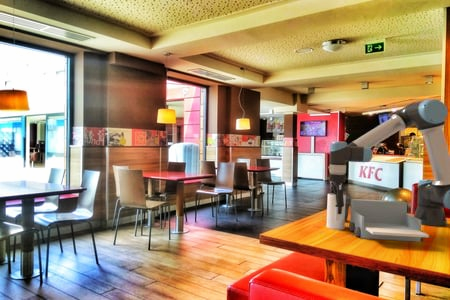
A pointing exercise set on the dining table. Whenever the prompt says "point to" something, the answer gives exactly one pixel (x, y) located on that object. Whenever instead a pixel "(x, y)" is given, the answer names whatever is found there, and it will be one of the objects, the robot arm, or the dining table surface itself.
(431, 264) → the dining table surface
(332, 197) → the cup
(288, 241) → the dining table surface
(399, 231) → the tailgate
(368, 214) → the truck bed
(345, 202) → the beverage cup
